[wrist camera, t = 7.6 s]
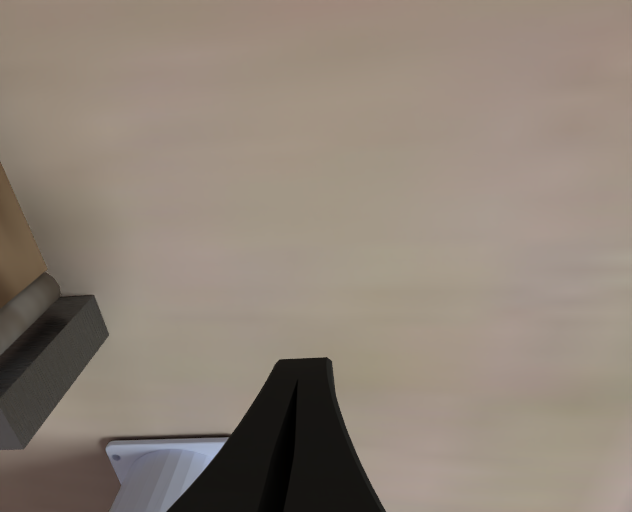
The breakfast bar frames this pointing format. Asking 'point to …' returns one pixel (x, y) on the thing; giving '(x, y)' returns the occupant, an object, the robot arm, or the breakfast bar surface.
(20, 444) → the hinge post
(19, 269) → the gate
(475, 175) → the breakfast bar surface
